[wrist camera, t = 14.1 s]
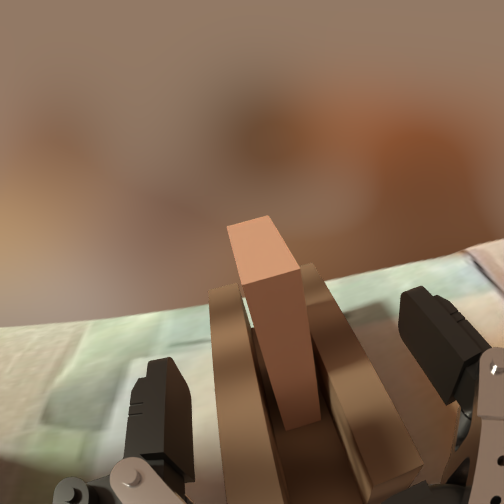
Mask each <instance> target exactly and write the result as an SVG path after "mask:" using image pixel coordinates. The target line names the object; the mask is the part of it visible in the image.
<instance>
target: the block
mask: <svg viewBox="0 0 504 504" xmlns="http://www.w3.org/2000/svg"><path fill="white" fill-rule="evenodd" d="M227 229H228V233H229V237H230V241H231V245H232V249H233V253H234V256H235V260H236V264H237V268H238V272H239V275H240V279H241V283H242V287H243V290H244V293H245V297H246V301H247V304H248V308H249V311H250V314H251V318H252V321H253V325H254V328H255V331H256V335H257V338H258V342H259V345H260V348H261V352H262V355H263V358H264V362H265V365H266V368H267V372H268V375H269V378H270V382H271V385H272V388H273V391H274V395H275V398H276V401H277V404H278V408H279V411H280V414H281V417H282V421H283V424H284V427H285V430H286V431H287V430H291V429H294V428H298V427H301V426H304V425H307V424H311V423H314V422H317V421H320V420H321V414H320V405H319V397H318V388H317V380H316V372H315V365H314V357H313V350H312V343H311V335H310V328H309V322H308V315H307V308H306V301H305V295H304V289H303V282H302V276H301V270H300V267H299V265H298V264H297V262H296V261H295V259H294V257H293V255H292V254H291V252H290V250H289V249H288V247H287V245H286V244H285V242H284V240H283V239H282V237H281V235H280V234H279V232H278V230H277V229H276V227H275V226H274V224H273V222H272V220H271V219H270V217H269V216H264V217H260V218H256V219H253V220H249V221H245V222H242V223H238V224H234V225H231V226H227Z"/></svg>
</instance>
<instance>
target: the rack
mask: <svg viewBox="0 0 504 504" xmlns="http://www.w3.org/2000/svg"><path fill="white" fill-rule="evenodd" d="M299 267H300V270H301V276H302V282H303V289H304V295H305V301H306V308H307V315H308V322H309V328H310V335H311V343H312V350H313V357H314V365H315V372H316V380H317V388H318V397H319V405H320V414H321V420H320V421H317V422H314V423H311V424H307V425H304V426H301V427H298V428H294V429H291V430H287V431H286V430H285V427H284V424H283V421H282V417H281V414H280V411H279V408H278V404H277V401H276V398H275V395H274V391H273V388H272V385H271V382H270V378H269V375H268V372H267V368H266V365H265V362H264V358H263V355H262V352H261V348H260V345H259V342H258V338H257V335H256V331H255V328H254V327H253V328H251V326H250V323H249V320H248V316H247V313H246V310H245V306H244V303H243V300H242V296H241V293H240V290H239V287H238V283H234V284H231V285H227V286H223V287H219V288H215V289H211V290H209V291H208V292H209V311H210V328H211V343H212V358H213V371H214V383H215V395H216V407H217V418H218V428H219V438H220V448H221V457H222V466H223V474H224V483H225V491H226V499H227V504H381V503H382V502H383V501H385V500H386V499H388V498H389V497H391V496H392V495H394V494H397V493H399V492H401V491H403V490H406V489H408V488H409V486H410V485H411V483H412V482H413V480H414V479H415V477H416V476H417V474H418V473H419V471H420V470H421V468H422V466H423V465H424V463H423V461H422V459H421V457H420V455H419V453H418V451H417V449H416V447H415V445H414V443H413V441H412V439H411V437H410V435H409V433H408V431H407V429H406V427H405V425H404V424H403V422H402V420H401V418H400V416H399V414H398V412H397V410H396V408H395V406H394V404H393V403H392V401H391V399H390V397H389V395H388V393H387V391H386V390H385V388H384V386H383V384H382V382H381V380H380V379H379V377H378V375H377V373H376V371H375V369H374V368H373V366H372V364H371V362H370V360H369V359H368V357H367V355H366V353H365V351H364V350H363V348H362V346H361V344H360V343H359V341H358V339H357V337H356V336H355V334H354V332H353V330H352V329H351V327H350V325H349V323H348V322H347V320H346V318H345V316H344V315H343V313H342V311H341V310H340V308H339V306H338V304H337V303H336V301H335V299H334V298H333V296H332V294H331V293H330V291H329V289H328V288H327V286H326V284H325V282H324V281H323V279H322V277H321V276H320V274H319V272H318V271H317V269H316V268H315V266H314V264H313V263H309V264H305V265H302V266H299Z"/></svg>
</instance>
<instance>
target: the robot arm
mask: <svg viewBox="0 0 504 504" xmlns="http://www.w3.org/2000/svg"><path fill="white" fill-rule="evenodd" d="M398 328H399V333H400V336H401V338H402V340H403V342H404V343H405V345H406V346H407V347H408V349H409V350H410V352H411V353H412V355H413V356H414V358H415V359H416V360H417V362H418V363H419V365H420V366H421V368H422V369H423V371H424V372H425V374H426V375H427V377H428V378H429V380H430V381H431V383H432V384H433V386H434V387H435V389H436V391H437V392H438V394H439V395H440V397H441V398H442V400H443V401H444V403H445V405H446V406H447V405H448V404H450V403H452V402H454V401H456V400H457V402H458V403H459V405H460V406H459V408H458V413H457V420H456V427H455V433H454V439H453V444H452V450H451V454H450V458H449V461H448V463H447V465H446V468H445V470H444V473H443V476H442V480H441V484H435V485H429V486H428V484H427V482H426V480H425V481H423V482H420V483H418V484H416V485H414V486H412V487H410V488H408V489H406V490H403V491H401V492H399V493H397V494H394V495H392V496H391V497H389V498H388V499H386V500H385V501H383V502H382V503H381V504H504V348H500V347H494V348H492V347H491V346H490V345H489V344H488V343H487V342H486V340H485V339H484V338H483V337H482V336H481V335H480V334H479V333H478V331H477V330H476V329H475V328H474V327H473V326H472V325H471V324H470V323H469V322H468V320H465V317H464V316H463V315H462V314H461V313H460V312H458V310H457V309H456V308H455V307H454V305H453V304H452V303H451V302H450V301H448V300H446V299H444V298H442V297H440V296H438V295H435V296H432V295H431V294H430V293H429V292H428V291H427V290H426V289H425V288H424V287H423V286H419V287H416V288H413V289H410V290H408V291H405V292H403V293H402V294H401V298H400V311H399V321H398ZM128 415H129V417H128V422H127V431H126V440H125V450H124V457H123V460H121V461H119V462H118V463H117V464H116V465H115V466H114V468H113V469H112V471H111V474H110V475H108V476H106V477H103V478H100V479H97V480H94V481H90V482H87V483H85V482H84V481H82V480H81V479H79V478H77V477H67V478H65V479H63V480H61V481H60V482H59V483H58V484H57V486H56V488H55V490H54V495H53V504H195V503H194V502H193V501H192V500H191V499H190V498H189V497H188V496H187V495H186V494H185V483H188V482H195V473H194V455H193V434H192V404H191V395H190V391H189V388H188V385H187V383H186V381H185V380H184V378H183V376H182V375H181V373H180V371H179V369H178V368H177V366H176V364H175V362H174V361H173V359H172V358H171V357H167V358H162V359H157V360H152V361H149V362H148V366H147V374H146V377H144V378H139V379H138V380H137V382H136V384H135V386H134V387H133V389H132V391H131V398H130V407H129V414H128Z"/></svg>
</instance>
